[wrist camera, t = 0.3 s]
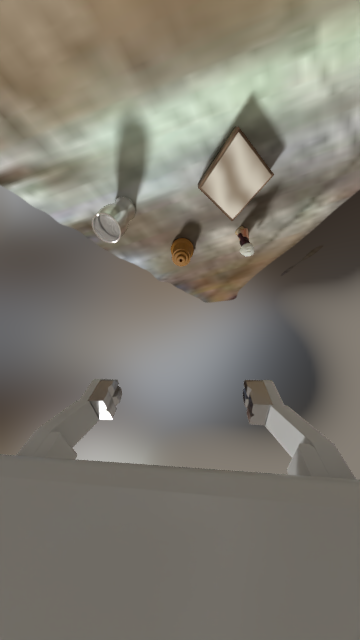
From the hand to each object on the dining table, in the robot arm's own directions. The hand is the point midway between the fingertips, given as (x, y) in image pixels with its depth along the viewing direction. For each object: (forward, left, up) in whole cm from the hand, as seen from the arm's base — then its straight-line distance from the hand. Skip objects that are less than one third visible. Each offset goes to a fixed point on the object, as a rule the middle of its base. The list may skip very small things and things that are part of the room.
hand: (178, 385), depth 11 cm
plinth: (-8, +6, -51) cm, 52 cm away
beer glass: (+15, -13, -51) cm, 55 cm away
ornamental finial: (+14, +7, -52) cm, 54 cm away
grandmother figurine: (-1, +18, -51) cm, 54 cm away
